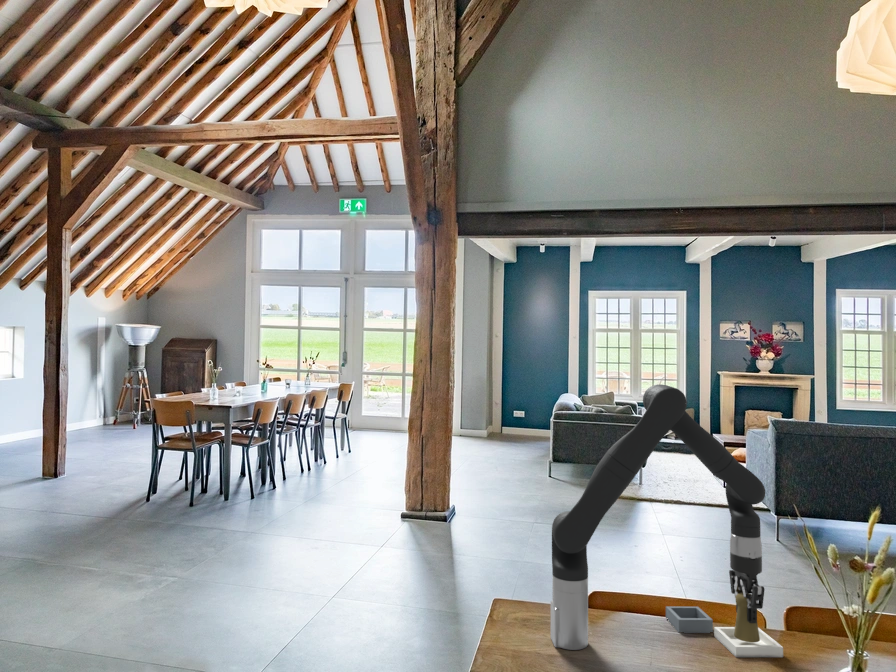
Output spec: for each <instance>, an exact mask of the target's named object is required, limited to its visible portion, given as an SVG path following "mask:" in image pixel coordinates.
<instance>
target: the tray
mask: <svg viewBox="0 0 896 672" xmlns="http://www.w3.org/2000/svg"><path fill="white" fill-rule="evenodd" d="M758 631H759V638H760V641H758V642H745V641H742V640H739V639H737V638H736V637H735V636H734V632H735V626H713V637H714V638H715V639H716V640H717V641H718V642H719V643H720V644H721V645H722V646H723V647H724V648H725V649H726V650H728V652H730V653H731V654H732V655H733V656H734V657H735V658H784V647H783V646H782V645H781V644H780V643H779V642H778V641H776V640H775V639H774V638H772V637H771V636H770V635H769V634H767V633H766V632H765V631H763V630H762V629H761V628H760V627H758Z"/></svg>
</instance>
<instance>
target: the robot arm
mask: <svg viewBox="0 0 896 672" xmlns="http://www.w3.org/2000/svg"><path fill="white" fill-rule="evenodd" d="M687 403H688V401H687V398H686V395H685V394H684V392H683V391H681V390H680V389H679V388H676V387H674V386H671V385H670V386H669V385H666V384H654V385H651V386H649V387H648V388H647V389H646V390H645V391H644V393H643V397H642V404H643V407H644V409H645V412H644V413H643V415H642V416H641V418H640V419H639V420H638V422H637V423H636V425H635V426H634V427H633V428H631V430H630V431H628V432H627V433H626V434H625V435H623V436H622V437H621V438H620V439H618V440H617V441H615V443H614V444H612V445H611V447H610V448H609V449H608V450H607V451H606V452H605V454H604V455H603V457H602V458H600V461H599V462H598V463H597V465H596V467H595V468H594V470H593V472H592V474H591V476H590V478H589V480H588V482H587V485H586V487H585V490H584V492H583V493H582V494H581V497H580V498H579V499H578V501H577V502H576V503H575V505H574V506H573V507H572V508H571V510H569V511H567V510H566V511H563V512H560V513H559V514H557V515H556V517H555V518H554V520H553V522H552V524H551V564H552V565H551V567H552V577H551V579H552V585H551V586H552V587H551V588H552V598H551V599H552V600H551V601H550V639H551V641H552V644H553V646H554V647H555V648H560V649H563V650H568V651H569V650H570V651H578V650H583V649H586V648H587V646H589V566H588V565H589V564H588V555H587V554H588V553H587V552H588V551H587V549H588V544H589V542H590V540H591V538H592V536H593V535H594V533H595V531H596V530H597V529H598V526H599V524H600V523H601V521H602V520H603V518H604V517H605V515H606V514H607V513H608V511H609V510H610V509H611V508H612V507H613V506H614V504H615V503H616V502H617V501H618V499H620V496H621V495H622V494H623V493H624V491H625V490H627V488H629V485H630V484H631V483H632V481H633V480H634V479H635V478H636V475H638V473H639V471H640V470H641V468H642V467H643V466H644V464H645V463H646V462H647V460H648V459H649V457H650V456H651V455H652V453H653V451H654V450H655V449H656V447H657V446H658V444H659V443H660V442H661V441H662V439H663V438H664V437H665V436H666V435H667V434H669V431H671V432H672V433H674V435H676V437H677V438H679V439H680V440H681V442H683V444H684V445H685V446H686V447H687V448H688V449H689V450H690V451H691V452H692V454H694V455H695V457H696V458H697V459H698V460H699V461H700V462H701V463H702V464H703V465H704V466H705V468H707V469H708V470H709V472H711V474H712V475H713V476H715V477H716V478H717V479H718V480H721V481H722V482H724V483H725V496H726V497H725V498H726V502H727V507H728V509H729V513H730V538H729V539H730V540H729V547H730V548H729V562H730V563H729V565H730V566H729V567H730V570H729V571H728V573H729V582H730V590H731V591H730V592H731V594H732V595H733V594H734V599H736V595H737V594H738V593H743V595H744V598H745V599H746V602H747V621H748V622H749V623H757V624H758V609H759V610H761V609H763V608H764V607H763V606H764V598H765V591H766V590H765V587H764V586H762V585H759V582H758V575H759V574H761V573H762V572H763V550H762V549H763V548H762V546H763V545H762V539H761V538H762V537H761V519H760V516H759V515H758V513H757V512H756V511H755V510H754V507H753V505H754V506H755V505H758V504H760V503H762V502H763V501H764V499H765V497H766V489H765V486H764V484H763V482H762V481H761V480H760V478H759V477H758V476H757V475H755V474H754V473H753V472H751V470H750V469H748V468H746V466H744V465H743V464H742V463H740V462H739V461H738V460H737V459H736V458H735V457H734V456H733V454H732V453H730V451H729V450H728V449H727V448H726V447H725V446H724V445H723V444H722V443H721V442H720V441H719V440H718V439H717V438H715V437H714V436H713V435H712V433H711V434H710V432H708V430H706V429H705V428H703V427H702V425H700V424H699V423H698V422H697V421H696V420H694V418H693V417H692V416H691V415H690V414H689V413H688V412H687V406H688V405H687ZM747 593H749V594H752V595H748V594H747ZM750 598H751V602H750ZM735 609H736V610H735V611H736V613H737V609H738V605H737V604H736V605H735Z"/></svg>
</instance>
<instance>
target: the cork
mask: <svg viewBox="0 0 896 672" xmlns="http://www.w3.org/2000/svg"><path fill="white" fill-rule="evenodd" d="M747 594H748V595H752V593H747ZM750 602H751V598H750ZM735 603H736V604H737V605H738V609H737V612H736V618H735V626H734V627H735V632H734V636H735V637H736V638H737V639H739V640H742V641H745V642H758V641H760V638H759V631H758V628H759V625H758V622H757V623H749V622H748V621H747V602H746V599H745V598H744V595H743V593H738V594H737V595H736V598H735Z"/></svg>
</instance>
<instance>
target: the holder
mask: <svg viewBox="0 0 896 672" xmlns="http://www.w3.org/2000/svg"><path fill="white" fill-rule="evenodd" d="M666 618H668V620H669V622H670V623H671V624H672V625H673V626H674V627H675V628H674V627H673V626H672V625H671V624H670V623H669V622H668V623H669V624H670V625H671V626H672V627H673V628H674V629H675V630H676V631H677V633H679V632H684V633H683V634H693V633H694V634H698V633H699V634H702V633H703V634H711V633H710V632H713V633H714V622H713V621H714V620H713V618H712V617H710V616H709V615H708V614H707V613H706V612H705V611H704V610H703V609H702V608H700V607H699V606H679V605H678V606H677V605H676V606H674V605H673V606H671V605H670V606H667V605H666V606H665V619H666Z"/></svg>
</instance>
